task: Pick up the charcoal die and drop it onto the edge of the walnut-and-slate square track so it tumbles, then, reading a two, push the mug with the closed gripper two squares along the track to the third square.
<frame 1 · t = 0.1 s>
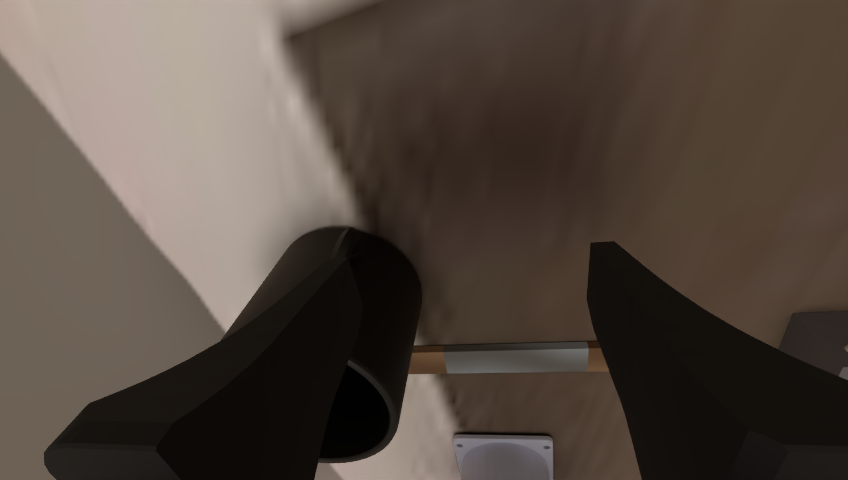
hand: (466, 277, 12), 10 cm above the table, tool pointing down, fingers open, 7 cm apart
mug: (355, 270, 26), on the table
die: (820, 335, 24), on the table
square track: (513, 354, 28), on the table
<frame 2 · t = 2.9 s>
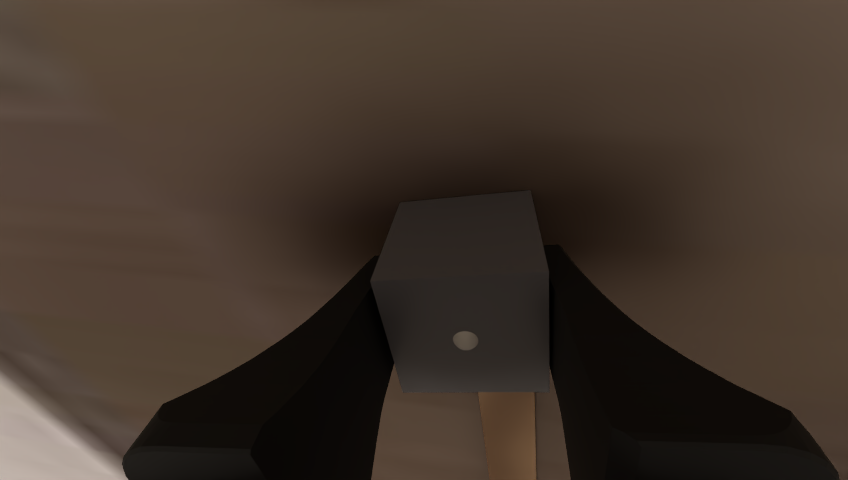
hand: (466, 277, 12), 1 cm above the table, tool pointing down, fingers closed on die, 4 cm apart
die: (470, 250, 13), on the table, touching gripper
when the fingers open (7 cm above the table, at t = 4.7 s): die drops 5 cm, resting on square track.
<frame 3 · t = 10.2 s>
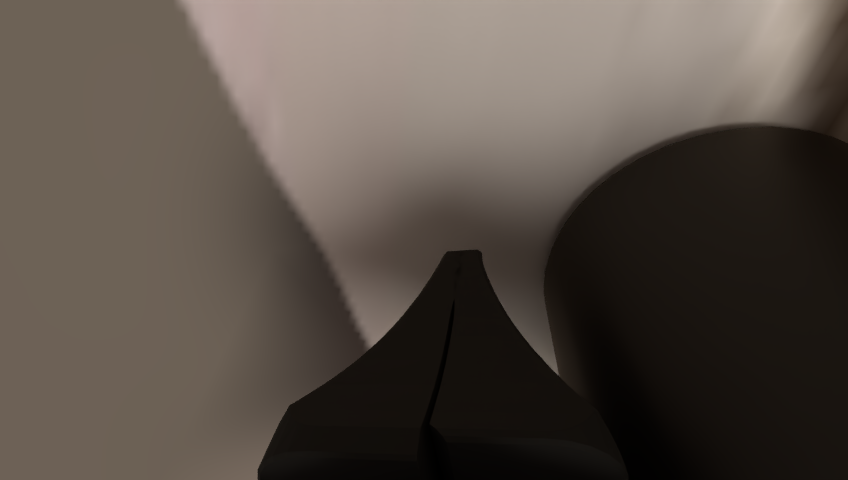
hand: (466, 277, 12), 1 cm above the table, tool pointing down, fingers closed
mug: (721, 235, 12), on the table, touching gripper
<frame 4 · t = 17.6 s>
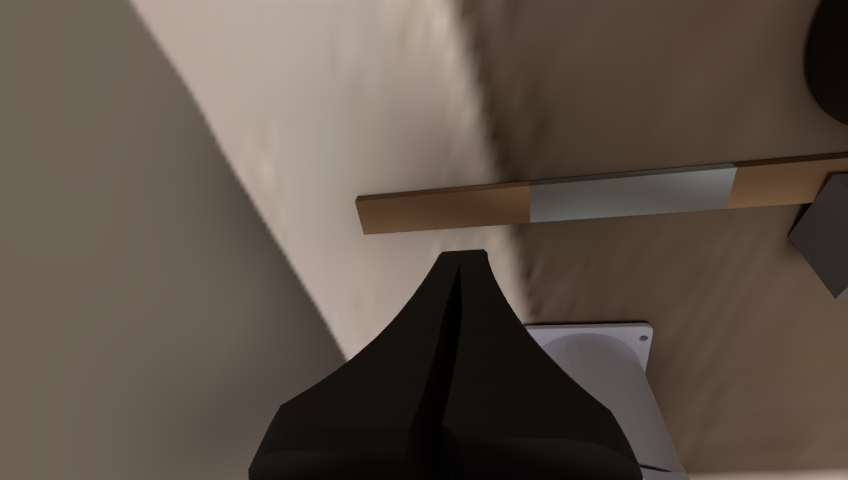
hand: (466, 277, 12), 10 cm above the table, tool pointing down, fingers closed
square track: (623, 192, 21), on the table
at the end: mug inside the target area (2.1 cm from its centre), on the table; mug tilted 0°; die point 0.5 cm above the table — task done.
